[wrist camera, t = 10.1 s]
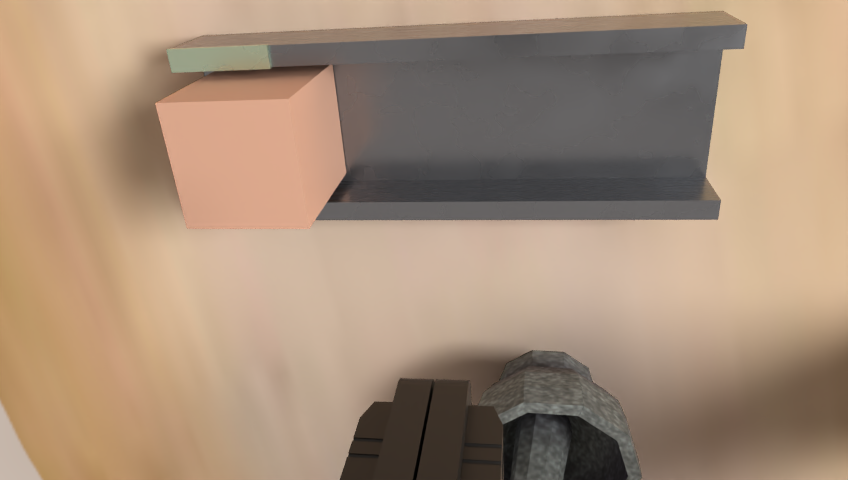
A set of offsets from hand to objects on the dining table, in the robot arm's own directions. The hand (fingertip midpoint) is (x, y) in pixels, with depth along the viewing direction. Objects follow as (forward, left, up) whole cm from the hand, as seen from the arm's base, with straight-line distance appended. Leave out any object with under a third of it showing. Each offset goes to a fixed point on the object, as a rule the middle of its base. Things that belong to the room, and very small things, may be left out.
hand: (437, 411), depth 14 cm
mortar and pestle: (-3, +19, -23) cm, 30 cm away
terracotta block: (+11, 0, -22) cm, 25 cm away
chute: (+2, 0, -23) cm, 23 cm away
